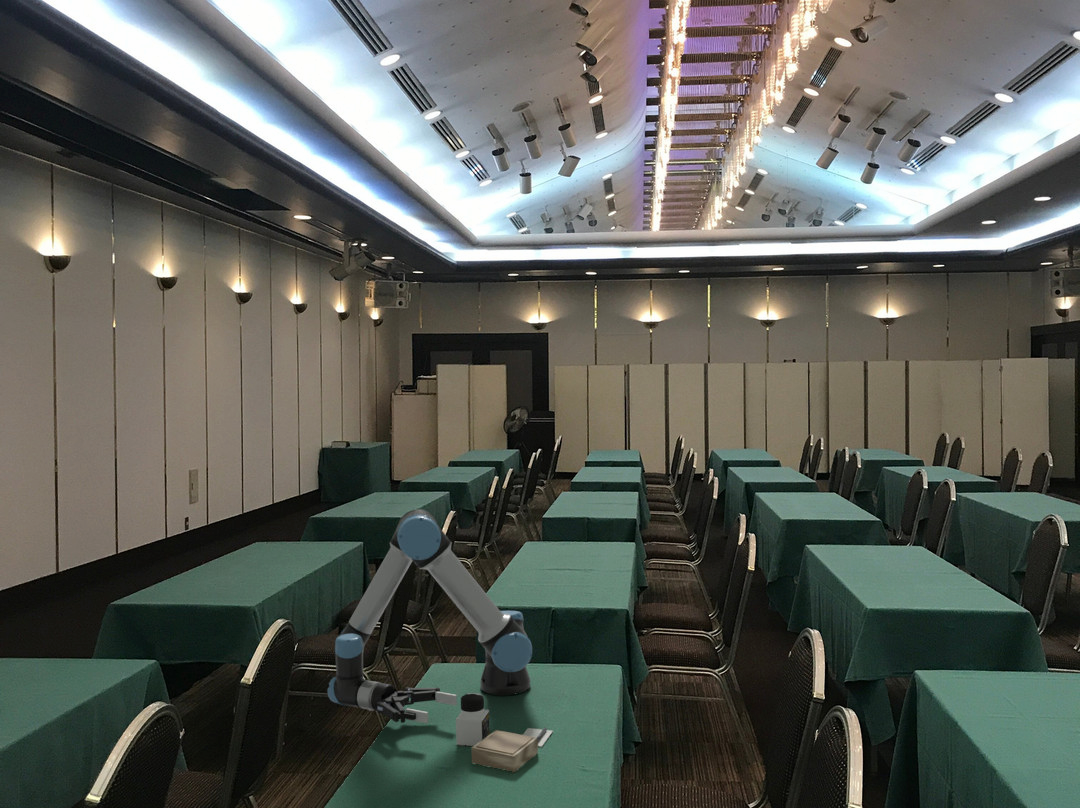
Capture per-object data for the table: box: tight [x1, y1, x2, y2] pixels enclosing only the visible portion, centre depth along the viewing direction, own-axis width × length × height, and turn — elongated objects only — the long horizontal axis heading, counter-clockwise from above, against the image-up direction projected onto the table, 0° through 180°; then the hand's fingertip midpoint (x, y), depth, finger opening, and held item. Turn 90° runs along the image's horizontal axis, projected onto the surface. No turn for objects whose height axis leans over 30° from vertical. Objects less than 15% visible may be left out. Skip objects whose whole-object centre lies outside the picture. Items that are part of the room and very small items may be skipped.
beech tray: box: [471, 729, 539, 773], centre depth 227 cm, size 12×12×4 cm
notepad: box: [522, 727, 554, 748], centre depth 239 cm, size 10×7×2 cm
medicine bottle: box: [455, 692, 491, 747], centre depth 238 cm, size 7×7×12 cm
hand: (442, 708), depth 242 cm, fingers open, 13 cm apart
